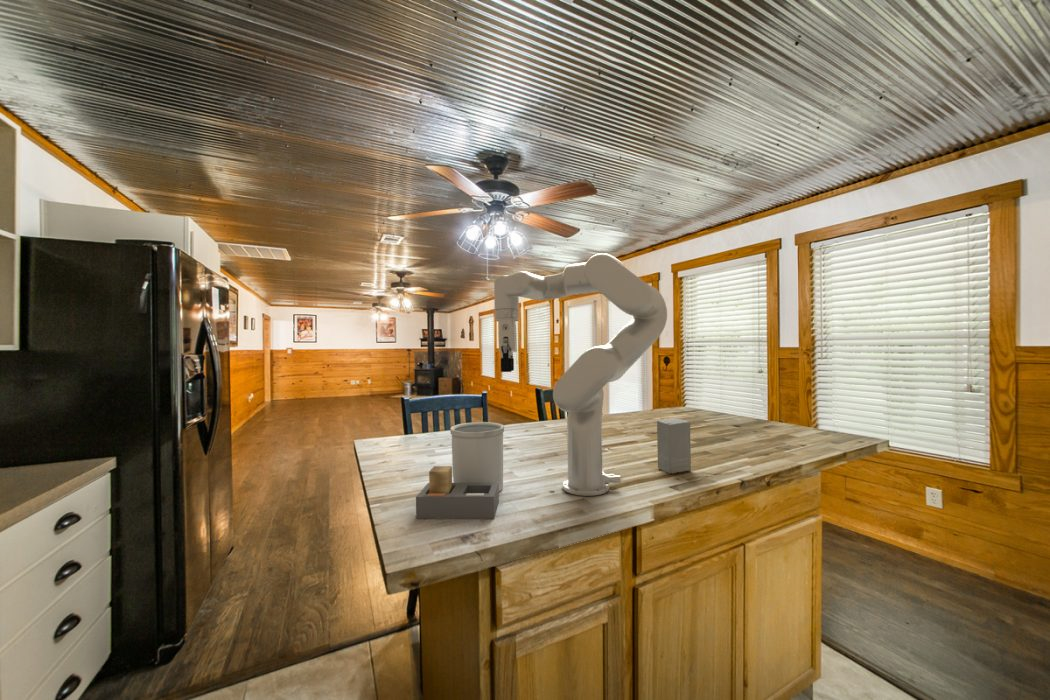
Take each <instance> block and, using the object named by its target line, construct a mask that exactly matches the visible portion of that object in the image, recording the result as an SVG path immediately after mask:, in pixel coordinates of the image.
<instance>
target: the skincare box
mask: <svg viewBox="0 0 1050 700" xmlns="http://www.w3.org/2000/svg"><path fill="white" fill-rule="evenodd" d="M656 438H657V441H656V442H657V443H656V445H657V468H659V470H661V471H663V472H665V471H666V472H665V473H667V472H668V473H667V474H670V473H672V474H675V473H677V472H678V473H684V472H688V471H689V472H690V471H691V470H692V461H691V460H692V458H691V454H692V452H691V451H692V450H691V449H692V447H691V446H692V445H691V421H689V420H684V419H681V418H669V419H663V420H662V419H661V420H656Z"/></svg>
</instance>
